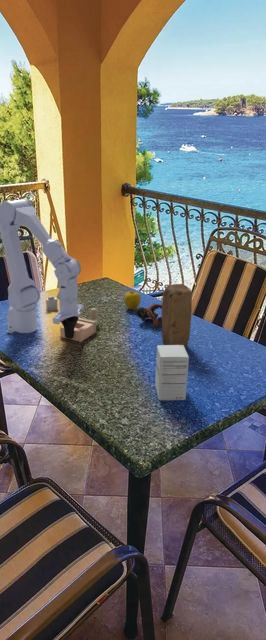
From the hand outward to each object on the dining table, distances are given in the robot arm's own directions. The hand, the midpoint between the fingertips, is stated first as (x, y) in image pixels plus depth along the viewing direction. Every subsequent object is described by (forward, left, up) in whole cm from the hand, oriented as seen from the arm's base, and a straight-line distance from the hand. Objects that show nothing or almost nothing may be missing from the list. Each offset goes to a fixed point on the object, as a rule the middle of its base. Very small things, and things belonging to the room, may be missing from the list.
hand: (69, 337), depth 149 cm
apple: (+3, +39, -2) cm, 40 cm away
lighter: (-23, +24, -2) cm, 34 cm away
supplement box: (+41, -14, -2) cm, 43 cm away
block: (+30, +16, -2) cm, 34 cm away
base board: (0, +2, -2) cm, 3 cm away
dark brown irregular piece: (+16, +30, -2) cm, 34 cm away
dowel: (0, +15, -2) cm, 16 cm away
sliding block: (0, +5, -1) cm, 5 cm away
